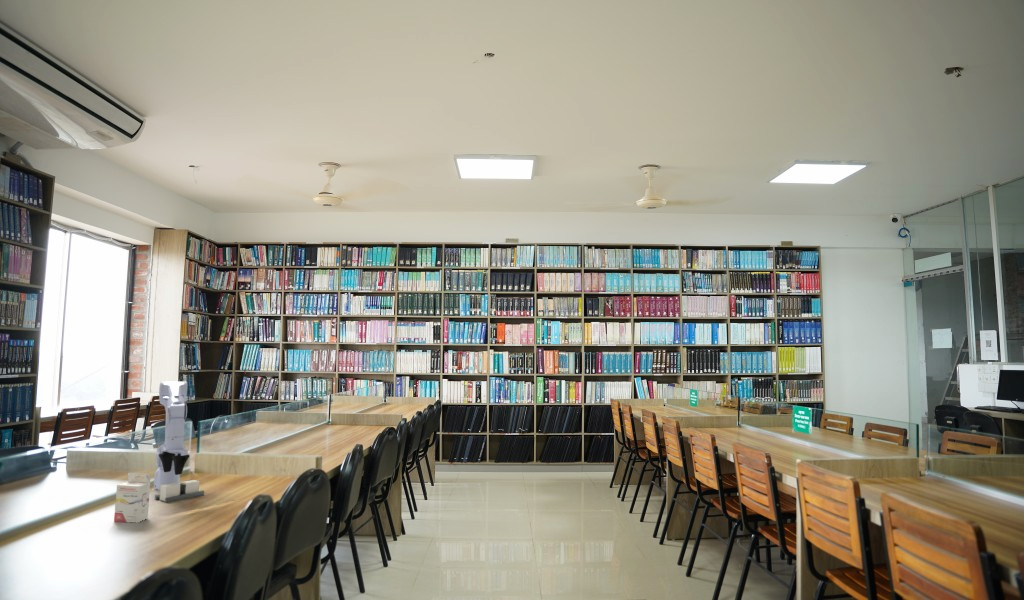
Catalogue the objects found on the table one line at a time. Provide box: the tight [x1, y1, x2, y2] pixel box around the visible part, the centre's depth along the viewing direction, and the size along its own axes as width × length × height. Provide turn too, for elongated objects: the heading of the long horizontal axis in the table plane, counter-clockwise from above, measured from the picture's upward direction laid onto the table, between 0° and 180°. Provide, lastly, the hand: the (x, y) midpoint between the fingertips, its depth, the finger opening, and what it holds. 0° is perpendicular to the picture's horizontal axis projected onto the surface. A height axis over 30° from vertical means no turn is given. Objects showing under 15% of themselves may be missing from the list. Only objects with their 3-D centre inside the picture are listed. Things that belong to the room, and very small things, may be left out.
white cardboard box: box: [159, 483, 181, 501], centre depth 213 cm, size 4×6×5 cm
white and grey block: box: [179, 479, 201, 495], centre depth 219 cm, size 4×6×5 cm
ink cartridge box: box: [113, 472, 151, 524], centre depth 190 cm, size 9×5×15 cm, turn 84°
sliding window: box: [153, 490, 205, 504], centre depth 216 cm, size 9×14×2 cm, turn 149°
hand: (172, 473), depth 218 cm, fingers open, 7 cm apart
